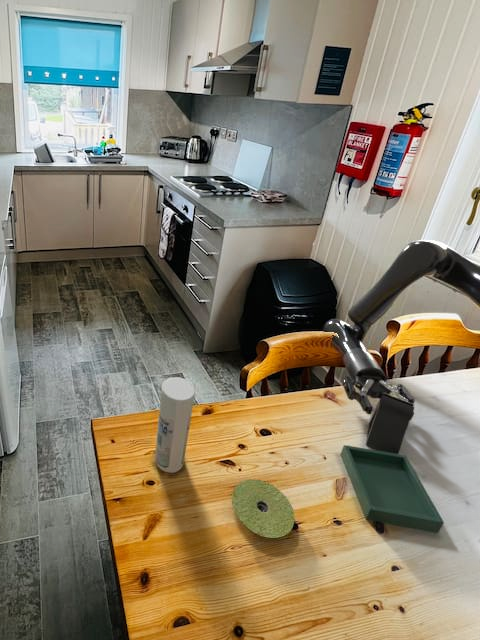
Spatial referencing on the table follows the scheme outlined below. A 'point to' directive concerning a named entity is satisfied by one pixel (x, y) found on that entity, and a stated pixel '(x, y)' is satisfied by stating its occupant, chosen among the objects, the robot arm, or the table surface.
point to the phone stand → (389, 423)
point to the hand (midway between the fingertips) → (390, 414)
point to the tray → (390, 489)
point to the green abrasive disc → (263, 508)
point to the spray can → (174, 423)
